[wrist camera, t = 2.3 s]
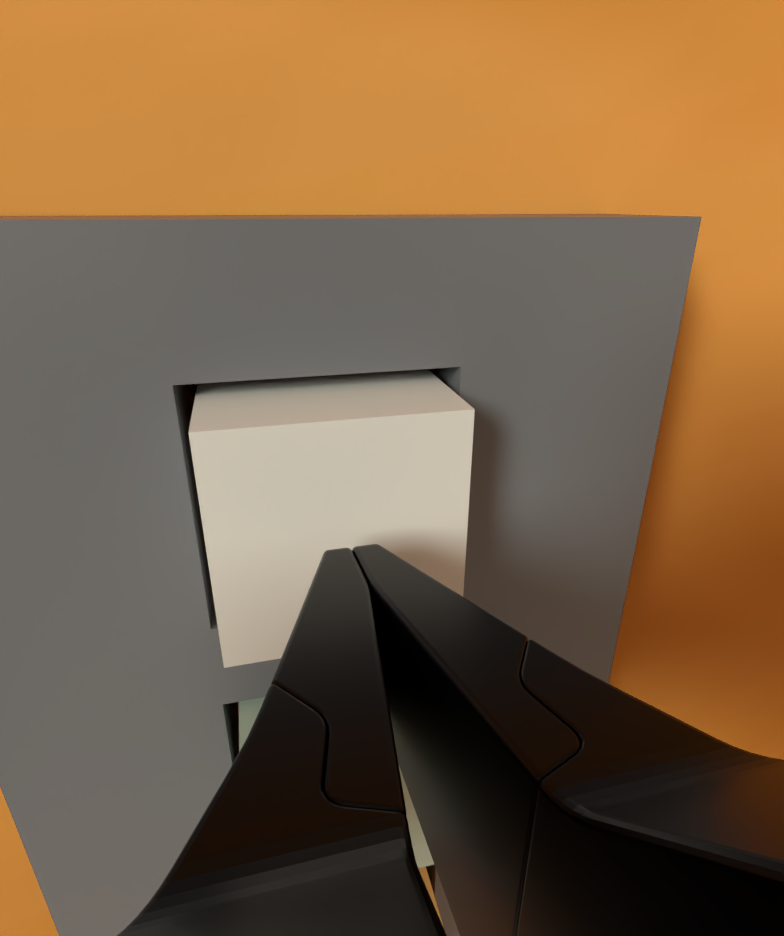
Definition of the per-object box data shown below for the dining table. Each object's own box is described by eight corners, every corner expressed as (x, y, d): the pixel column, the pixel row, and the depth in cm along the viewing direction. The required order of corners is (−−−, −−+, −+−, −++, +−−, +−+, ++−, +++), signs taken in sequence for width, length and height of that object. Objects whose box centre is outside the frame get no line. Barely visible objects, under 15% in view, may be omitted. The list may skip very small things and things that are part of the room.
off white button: (225, 572, 13) (223, 668, 10) (198, 378, 11) (188, 432, 8) (417, 546, 14) (461, 628, 11) (421, 364, 12) (474, 408, 9)
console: (137, 979, 20) (123, 1097, 17) (-106, 216, 10) (-224, 220, 8) (515, 876, 23) (552, 963, 21) (607, 214, 13) (701, 217, 11)
